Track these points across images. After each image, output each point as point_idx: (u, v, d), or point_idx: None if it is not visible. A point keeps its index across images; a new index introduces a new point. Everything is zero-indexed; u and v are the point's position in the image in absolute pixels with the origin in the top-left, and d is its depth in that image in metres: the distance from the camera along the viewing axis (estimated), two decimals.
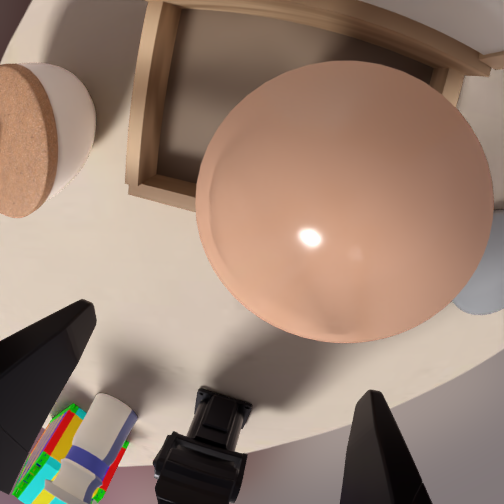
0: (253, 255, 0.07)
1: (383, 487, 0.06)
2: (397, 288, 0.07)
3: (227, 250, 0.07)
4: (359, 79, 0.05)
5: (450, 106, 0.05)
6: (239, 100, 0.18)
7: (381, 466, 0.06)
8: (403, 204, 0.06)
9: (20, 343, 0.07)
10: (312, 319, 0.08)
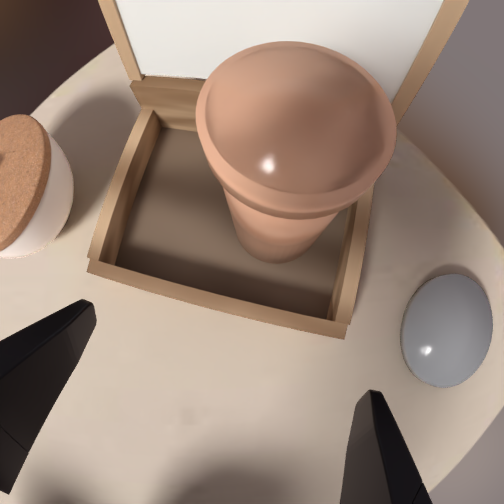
0: (234, 128, 0.09)
1: (383, 487, 0.06)
2: (343, 147, 0.09)
3: (215, 127, 0.09)
4: (292, 47, 0.10)
5: (341, 55, 0.10)
6: (198, 200, 0.24)
7: (381, 466, 0.06)
8: (328, 95, 0.10)
9: (20, 343, 0.07)
10: (282, 179, 0.09)
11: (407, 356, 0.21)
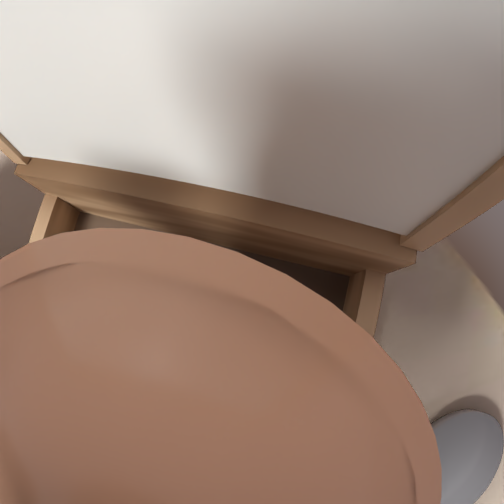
0: None
1: None
2: None
3: None
4: (100, 266, 0.03)
5: (312, 299, 0.03)
6: None
7: None
8: None
9: None
10: None
11: None
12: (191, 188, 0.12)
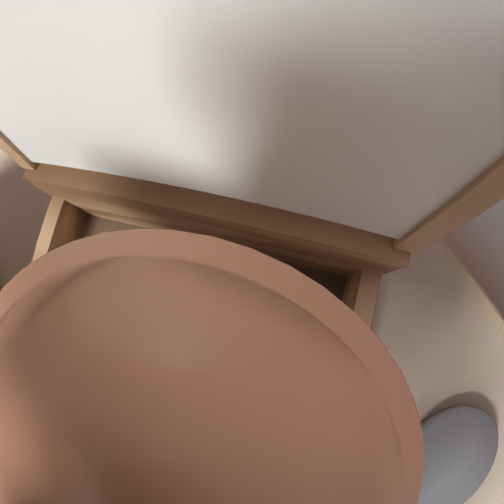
0: None
1: None
2: None
3: (3, 493, 0.03)
4: (139, 260, 0.03)
5: (310, 285, 0.03)
6: None
7: None
8: (235, 474, 0.03)
9: None
10: None
11: None
12: (194, 194, 0.12)
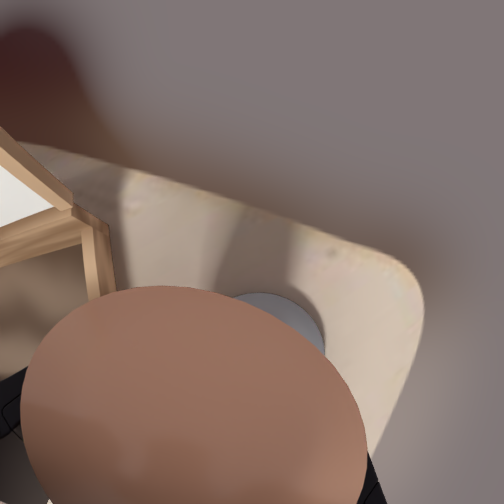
0: (78, 488, 0.04)
1: None
2: None
3: (54, 478, 0.04)
4: (165, 308, 0.05)
5: (283, 326, 0.05)
6: (9, 328, 0.22)
7: None
8: (232, 451, 0.04)
9: None
10: None
11: None
12: None
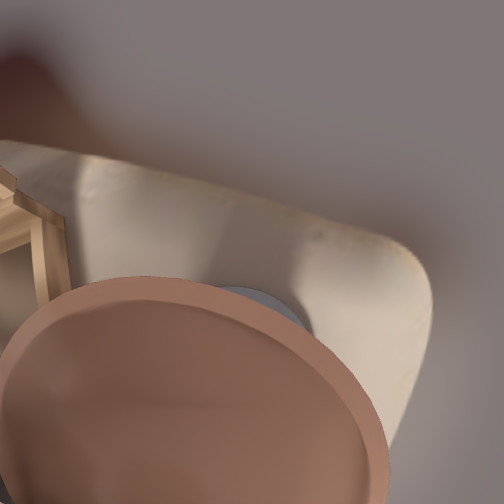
0: None
1: None
2: None
3: (26, 495, 0.03)
4: (148, 303, 0.04)
5: (293, 327, 0.04)
6: None
7: None
8: (229, 478, 0.03)
9: None
10: None
11: None
12: None
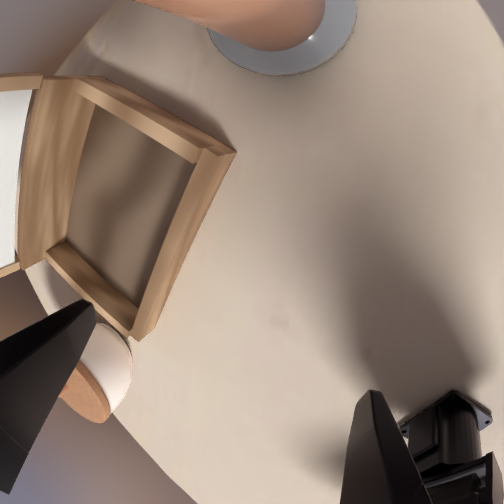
0: None
1: (383, 487, 0.06)
2: None
3: None
4: None
5: None
6: (109, 235, 0.26)
7: (381, 466, 0.06)
8: None
9: (20, 343, 0.07)
10: None
11: (284, 73, 0.16)
12: (22, 182, 0.20)
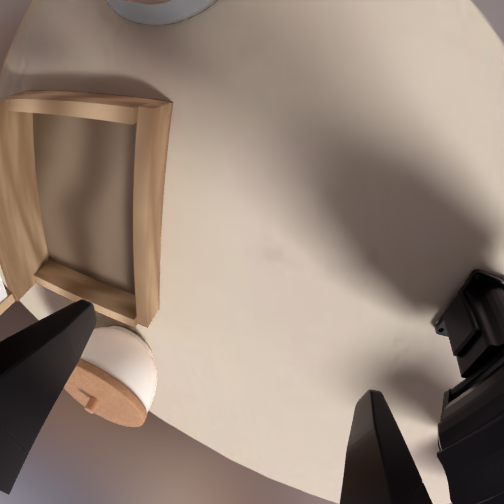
0: None
1: (383, 487, 0.06)
2: None
3: None
4: None
5: None
6: (85, 233, 0.25)
7: (381, 466, 0.06)
8: None
9: (20, 343, 0.07)
10: None
11: (190, 13, 0.14)
12: None
